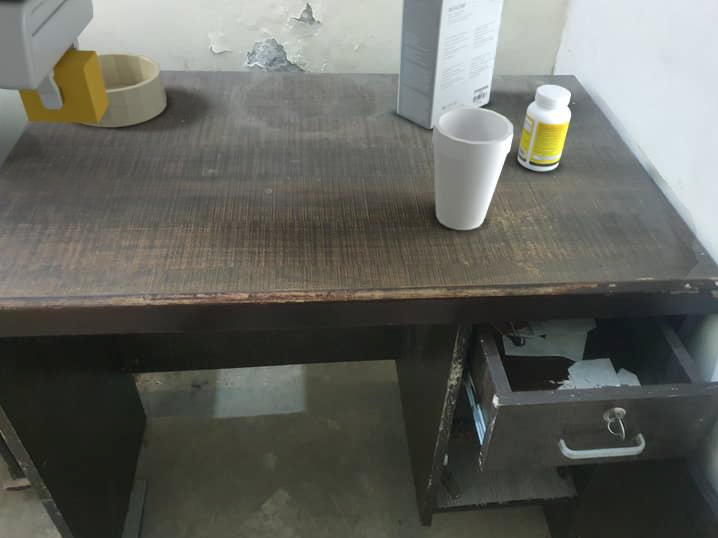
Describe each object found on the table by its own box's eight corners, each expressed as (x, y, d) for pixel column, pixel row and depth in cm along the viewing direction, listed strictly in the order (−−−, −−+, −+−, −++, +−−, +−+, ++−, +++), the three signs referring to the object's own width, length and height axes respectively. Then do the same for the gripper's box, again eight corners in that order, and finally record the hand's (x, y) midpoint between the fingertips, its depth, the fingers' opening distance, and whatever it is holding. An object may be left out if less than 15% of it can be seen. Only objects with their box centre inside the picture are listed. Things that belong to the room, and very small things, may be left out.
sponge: (28, 121, 66) (9, 65, 62) (43, 102, 70) (25, 47, 66) (98, 123, 67) (83, 68, 63) (109, 104, 71) (95, 50, 66)
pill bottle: (565, 163, 95) (585, 92, 88) (543, 177, 91) (561, 105, 84) (531, 147, 98) (547, 78, 90) (508, 161, 94) (522, 90, 87)
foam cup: (414, 200, 85) (423, 109, 76) (477, 192, 87) (492, 103, 79) (439, 242, 78) (452, 148, 70) (507, 232, 81) (527, 140, 72)
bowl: (54, 126, 94) (43, 90, 90) (82, 84, 104) (73, 51, 101) (157, 128, 95) (149, 93, 91) (174, 86, 106) (168, 53, 102)
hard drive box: (455, 88, 112) (471, -35, 99) (489, 104, 108) (510, -22, 95) (394, 114, 103) (402, -17, 90) (428, 131, 100) (442, -3, 86)
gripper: (25, -80, 65) (63, 54, 74) (-68, -19, 50) (-5, 139, 59) (89, -76, 66) (119, 56, 75) (17, -15, 51) (65, 141, 60)
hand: (64, 94), depth 67 cm, fingers closed on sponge, 4 cm apart
